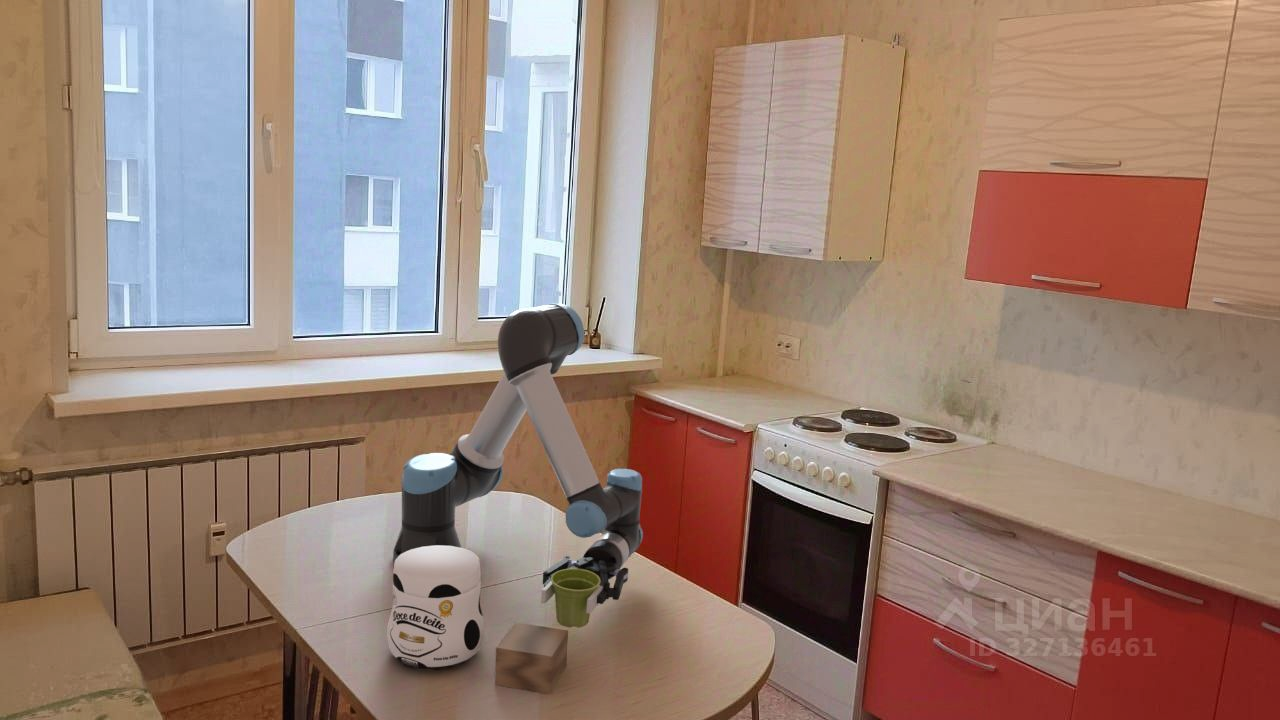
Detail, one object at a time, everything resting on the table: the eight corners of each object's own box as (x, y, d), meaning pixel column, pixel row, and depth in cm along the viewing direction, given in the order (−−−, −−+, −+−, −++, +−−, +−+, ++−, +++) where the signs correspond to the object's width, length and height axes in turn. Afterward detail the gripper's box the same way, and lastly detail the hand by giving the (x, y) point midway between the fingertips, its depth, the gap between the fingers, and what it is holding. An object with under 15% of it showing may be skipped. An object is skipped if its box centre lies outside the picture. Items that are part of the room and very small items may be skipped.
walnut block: (494, 684, 168) (496, 647, 167) (514, 657, 178) (515, 622, 176) (550, 694, 166) (551, 656, 165) (566, 666, 176) (568, 630, 174)
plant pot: (607, 620, 186) (610, 578, 185) (578, 638, 178) (581, 594, 177) (567, 605, 191) (570, 564, 189) (538, 622, 183) (540, 579, 182)
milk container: (388, 682, 167) (389, 584, 163) (385, 635, 183) (386, 545, 180) (489, 673, 172) (492, 578, 168) (477, 628, 188) (480, 540, 185)
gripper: (653, 584, 198) (618, 632, 177) (557, 564, 204) (512, 609, 183) (656, 549, 197) (621, 594, 176) (559, 531, 203) (514, 571, 181)
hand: (565, 601), depth 179 cm, fingers closed on plant pot, 8 cm apart
